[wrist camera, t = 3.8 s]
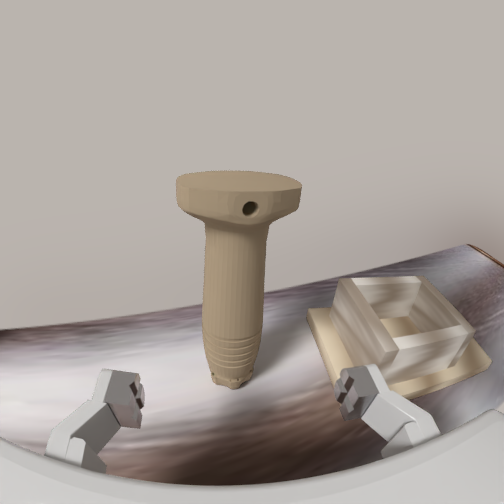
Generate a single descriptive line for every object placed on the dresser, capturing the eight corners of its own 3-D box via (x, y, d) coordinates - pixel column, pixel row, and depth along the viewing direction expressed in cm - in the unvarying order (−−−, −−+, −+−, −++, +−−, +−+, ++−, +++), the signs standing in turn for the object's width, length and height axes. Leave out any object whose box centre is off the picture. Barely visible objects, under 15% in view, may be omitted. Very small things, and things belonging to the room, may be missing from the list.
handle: (186, 358, 22) (175, 171, 16) (260, 349, 24) (281, 171, 17) (194, 404, 18) (177, 193, 11) (278, 391, 20) (317, 192, 13)
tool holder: (344, 416, 18) (370, 370, 15) (306, 317, 28) (316, 271, 26) (486, 369, 20) (512, 329, 17) (434, 306, 30) (449, 268, 28)
